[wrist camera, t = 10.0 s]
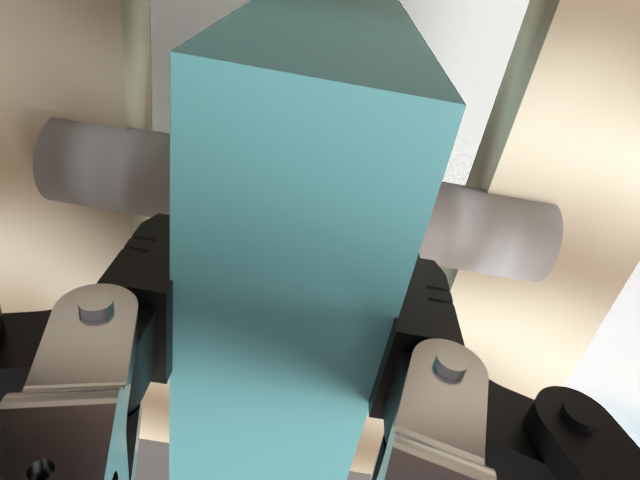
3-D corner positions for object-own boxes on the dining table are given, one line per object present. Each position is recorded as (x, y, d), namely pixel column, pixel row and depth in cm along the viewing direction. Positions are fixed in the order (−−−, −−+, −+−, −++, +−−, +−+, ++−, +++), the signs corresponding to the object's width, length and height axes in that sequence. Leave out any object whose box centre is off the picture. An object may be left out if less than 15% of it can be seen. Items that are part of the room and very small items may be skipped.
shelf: (104, -293, 18) (-319, -678, 7) (643, -185, 19) (1086, -369, 7) (130, 256, 30) (-2, 444, 19) (451, 309, 31) (505, 522, 20)
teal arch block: (285, -21, 17) (170, 51, 7) (399, 0, 17) (465, 104, 7) (257, 226, 22) (169, 488, 12) (345, 241, 23) (335, 513, 12)
